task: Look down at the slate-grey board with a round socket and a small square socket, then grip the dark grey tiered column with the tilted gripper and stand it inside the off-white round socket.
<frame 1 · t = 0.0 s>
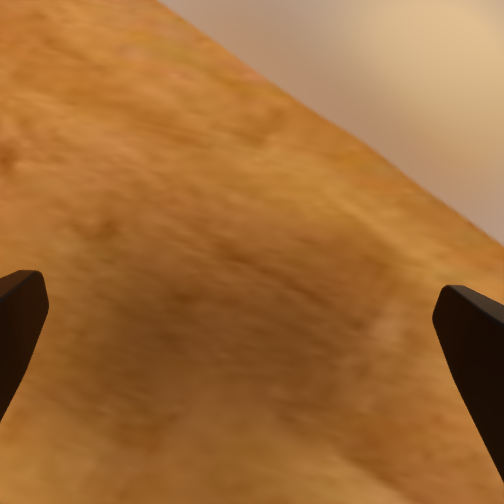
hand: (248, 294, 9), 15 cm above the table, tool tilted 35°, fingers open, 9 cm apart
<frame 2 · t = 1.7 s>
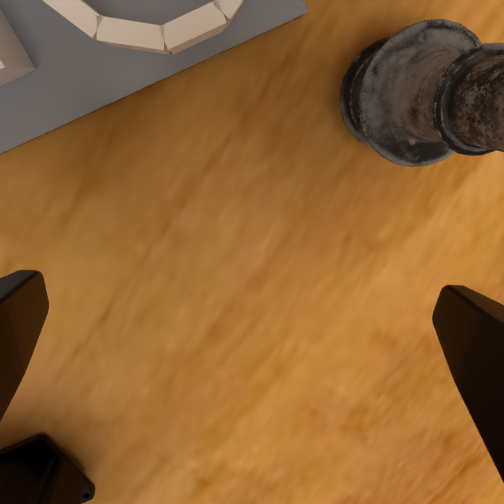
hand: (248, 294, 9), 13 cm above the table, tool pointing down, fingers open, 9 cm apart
dark grey tiered column: (388, 95, 21), on the table
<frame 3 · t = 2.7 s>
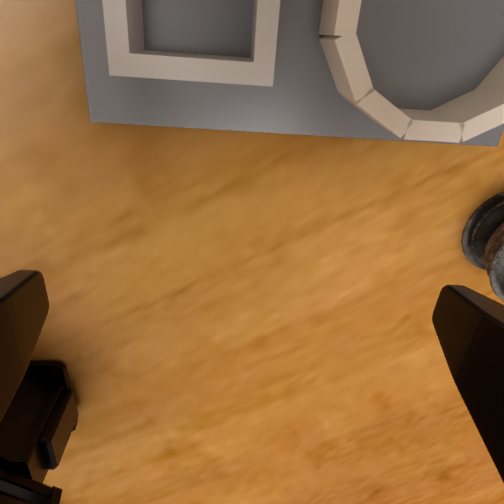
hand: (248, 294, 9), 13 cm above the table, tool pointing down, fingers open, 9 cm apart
socket board: (314, 2, 18), on the table
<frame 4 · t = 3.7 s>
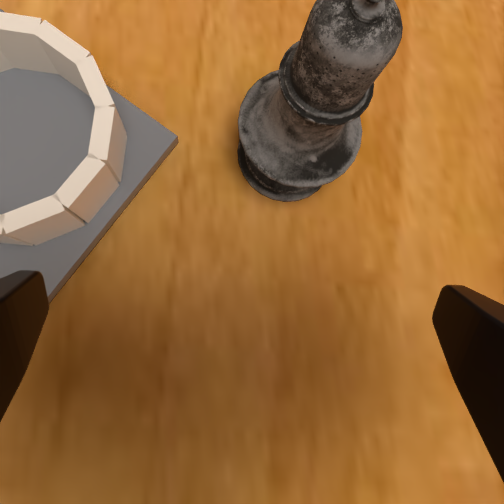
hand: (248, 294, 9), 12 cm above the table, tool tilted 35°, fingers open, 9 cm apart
dark grey tiered column: (284, 156, 22), on the table
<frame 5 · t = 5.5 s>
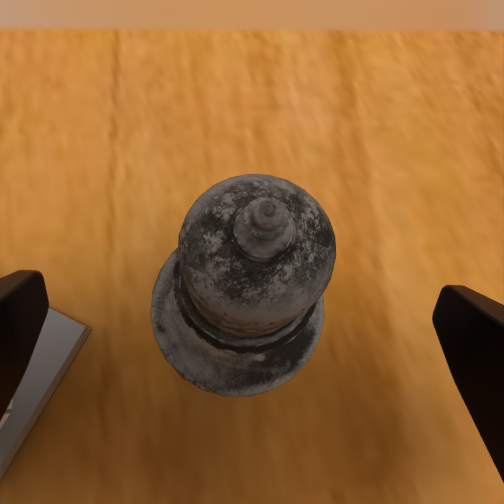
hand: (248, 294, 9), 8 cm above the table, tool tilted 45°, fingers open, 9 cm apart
dark grey tiered column: (234, 318, 17), on the table
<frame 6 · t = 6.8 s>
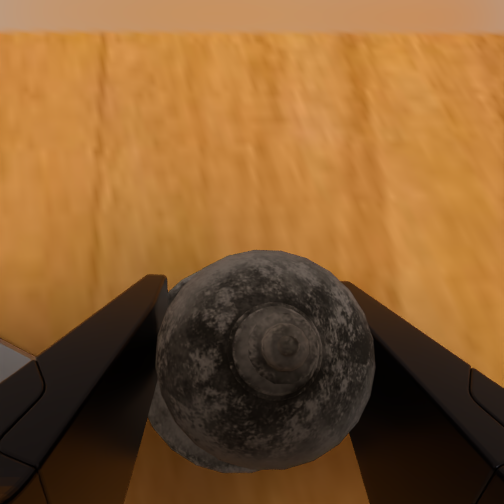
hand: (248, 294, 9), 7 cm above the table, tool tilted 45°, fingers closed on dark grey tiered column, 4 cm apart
dark grey tiered column: (234, 362, 15), on the table, touching gripper
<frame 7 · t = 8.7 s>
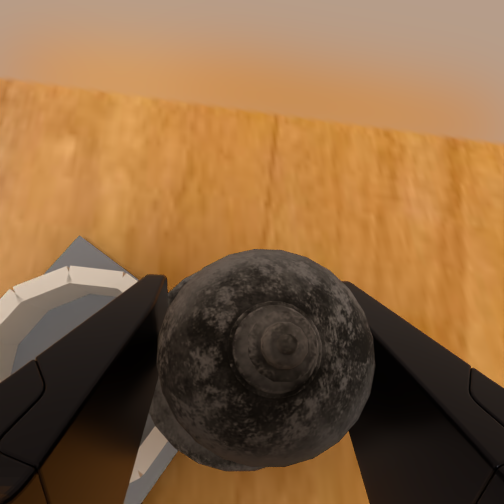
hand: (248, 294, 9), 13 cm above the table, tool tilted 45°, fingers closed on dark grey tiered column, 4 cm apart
socket board: (28, 462, 19), on the table
dark grey tiered column: (236, 361, 15), point 6 cm above the table, touching gripper
when the fingers open (8 cm above the table, at t = 11.1 s): dark grey tiered column stays where it is, resting on socket board.
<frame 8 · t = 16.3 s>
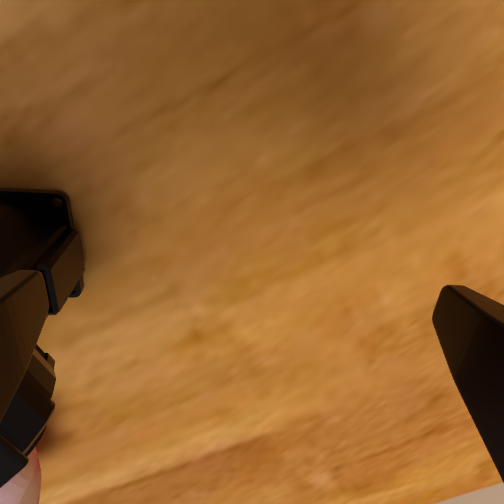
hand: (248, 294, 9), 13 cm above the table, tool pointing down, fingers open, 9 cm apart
decorative fruit: (6, 418, 30), on the table
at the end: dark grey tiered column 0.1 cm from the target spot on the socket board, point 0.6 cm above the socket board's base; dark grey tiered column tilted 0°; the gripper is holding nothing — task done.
